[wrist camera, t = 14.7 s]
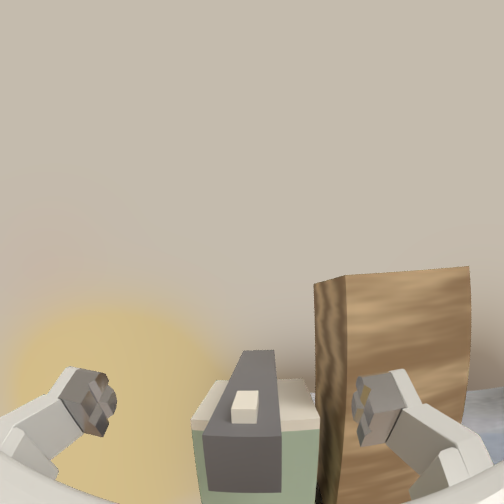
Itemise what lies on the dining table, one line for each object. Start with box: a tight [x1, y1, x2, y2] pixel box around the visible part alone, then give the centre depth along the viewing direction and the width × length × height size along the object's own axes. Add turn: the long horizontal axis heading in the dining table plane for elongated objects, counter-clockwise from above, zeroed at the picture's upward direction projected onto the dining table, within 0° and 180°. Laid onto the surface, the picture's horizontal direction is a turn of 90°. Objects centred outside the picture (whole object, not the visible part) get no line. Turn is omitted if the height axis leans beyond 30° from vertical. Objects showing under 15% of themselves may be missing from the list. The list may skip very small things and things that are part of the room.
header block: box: [191, 378, 320, 504], centre depth 25 cm, size 12×10×15 cm
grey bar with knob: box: [202, 350, 282, 493], centre depth 22 cm, size 22×4×4 cm, turn 177°
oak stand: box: [314, 266, 471, 504], centre depth 27 cm, size 16×12×26 cm
